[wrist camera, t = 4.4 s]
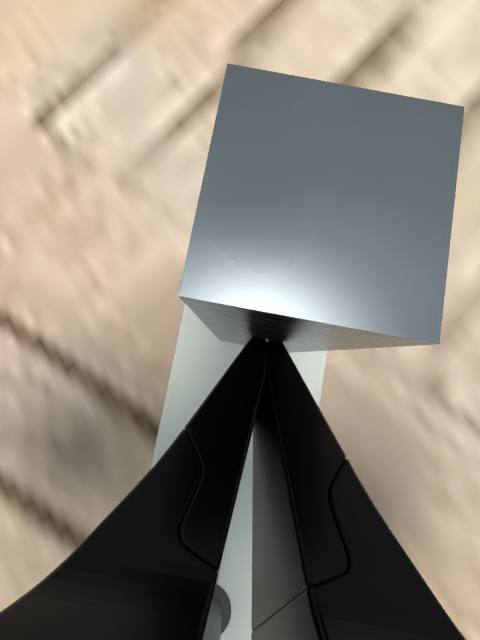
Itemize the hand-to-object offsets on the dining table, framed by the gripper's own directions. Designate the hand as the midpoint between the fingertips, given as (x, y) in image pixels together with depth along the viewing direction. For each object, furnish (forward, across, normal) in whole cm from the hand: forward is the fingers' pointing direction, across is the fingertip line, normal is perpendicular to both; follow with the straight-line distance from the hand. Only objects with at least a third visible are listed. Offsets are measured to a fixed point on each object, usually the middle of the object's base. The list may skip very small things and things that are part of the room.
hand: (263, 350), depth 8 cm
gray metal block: (+5, 0, +3) cm, 6 cm away
